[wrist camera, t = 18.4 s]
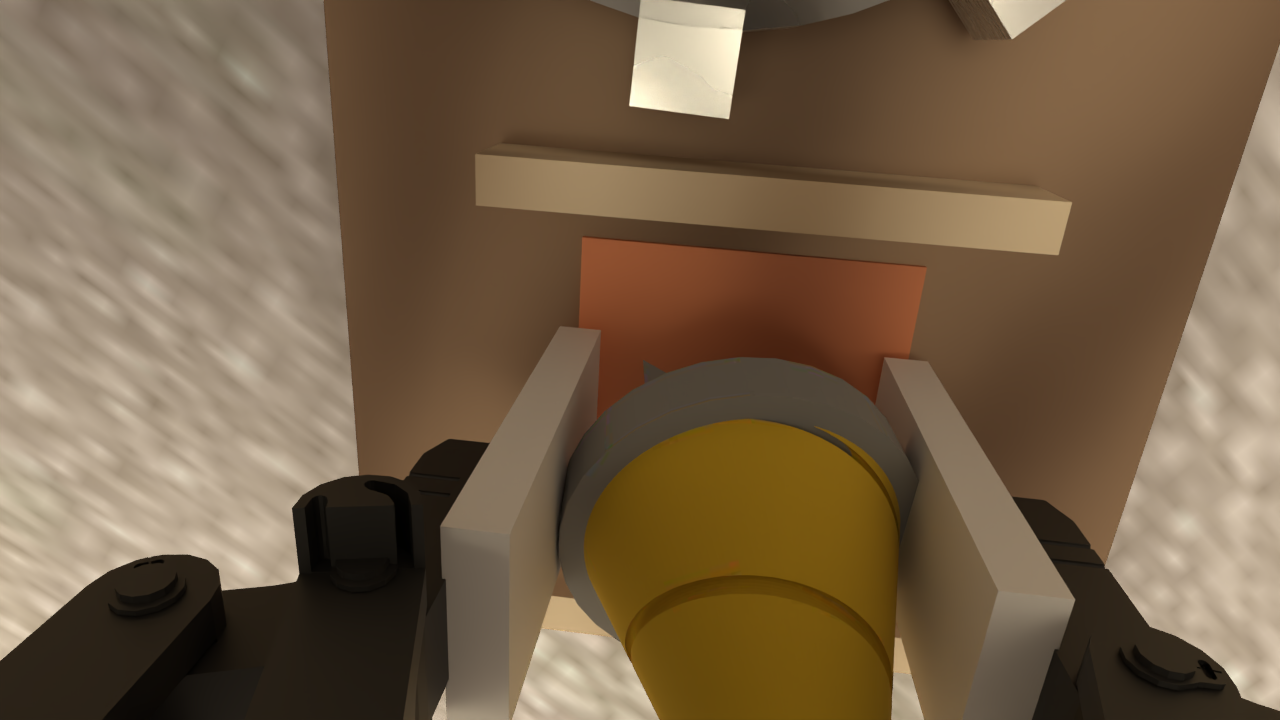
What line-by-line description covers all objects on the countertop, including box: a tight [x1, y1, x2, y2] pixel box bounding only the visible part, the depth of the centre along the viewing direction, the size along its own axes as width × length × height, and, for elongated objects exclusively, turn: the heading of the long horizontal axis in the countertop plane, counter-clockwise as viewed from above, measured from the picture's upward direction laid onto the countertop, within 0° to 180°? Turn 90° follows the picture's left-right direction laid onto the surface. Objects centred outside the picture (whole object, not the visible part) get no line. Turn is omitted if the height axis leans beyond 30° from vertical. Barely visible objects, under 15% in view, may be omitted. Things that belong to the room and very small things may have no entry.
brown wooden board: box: [324, 0, 1280, 674], centre depth 13 cm, size 15×22×2 cm
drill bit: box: [559, 357, 919, 720], centre depth 11 cm, size 5×5×10 cm
